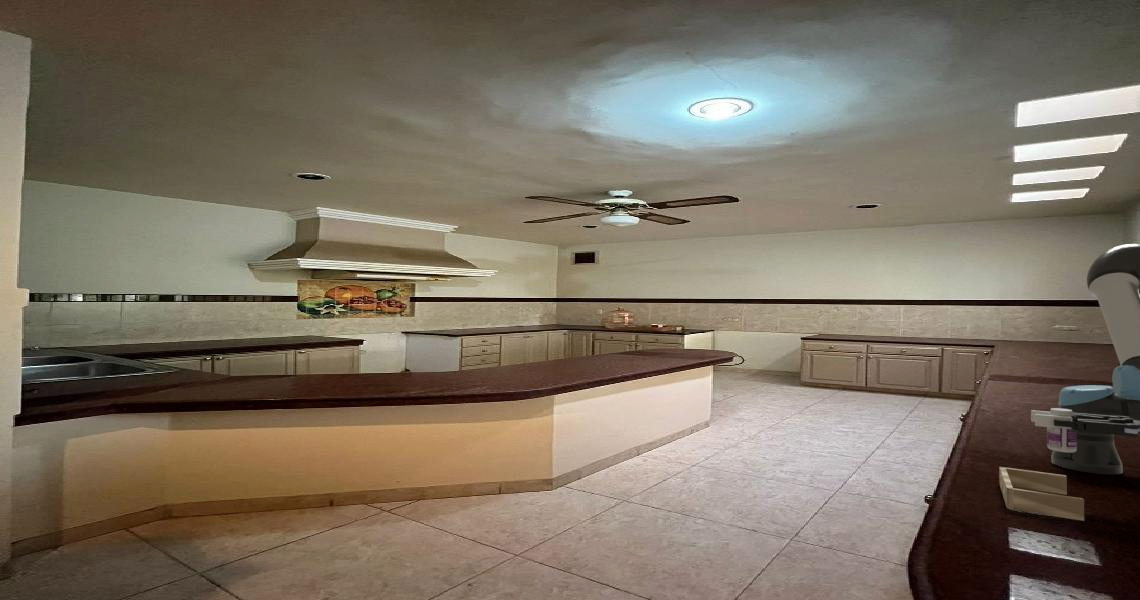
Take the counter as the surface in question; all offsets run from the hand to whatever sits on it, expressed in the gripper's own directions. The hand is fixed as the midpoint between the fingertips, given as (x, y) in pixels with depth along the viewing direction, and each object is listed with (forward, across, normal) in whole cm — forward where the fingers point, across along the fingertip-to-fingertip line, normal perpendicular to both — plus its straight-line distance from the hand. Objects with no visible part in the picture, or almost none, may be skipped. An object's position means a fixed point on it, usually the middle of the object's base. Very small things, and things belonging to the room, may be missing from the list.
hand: (1033, 417), depth 138 cm
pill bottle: (-5, 0, -7) cm, 9 cm away
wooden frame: (0, -6, -18) cm, 19 cm away
